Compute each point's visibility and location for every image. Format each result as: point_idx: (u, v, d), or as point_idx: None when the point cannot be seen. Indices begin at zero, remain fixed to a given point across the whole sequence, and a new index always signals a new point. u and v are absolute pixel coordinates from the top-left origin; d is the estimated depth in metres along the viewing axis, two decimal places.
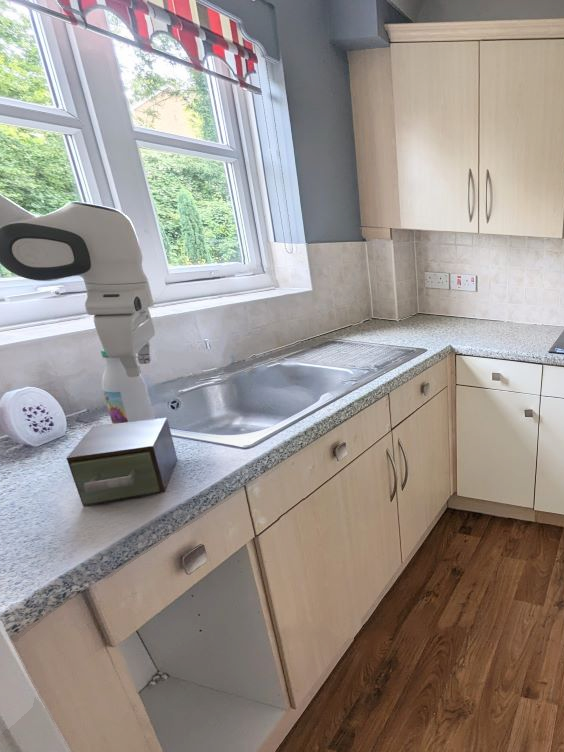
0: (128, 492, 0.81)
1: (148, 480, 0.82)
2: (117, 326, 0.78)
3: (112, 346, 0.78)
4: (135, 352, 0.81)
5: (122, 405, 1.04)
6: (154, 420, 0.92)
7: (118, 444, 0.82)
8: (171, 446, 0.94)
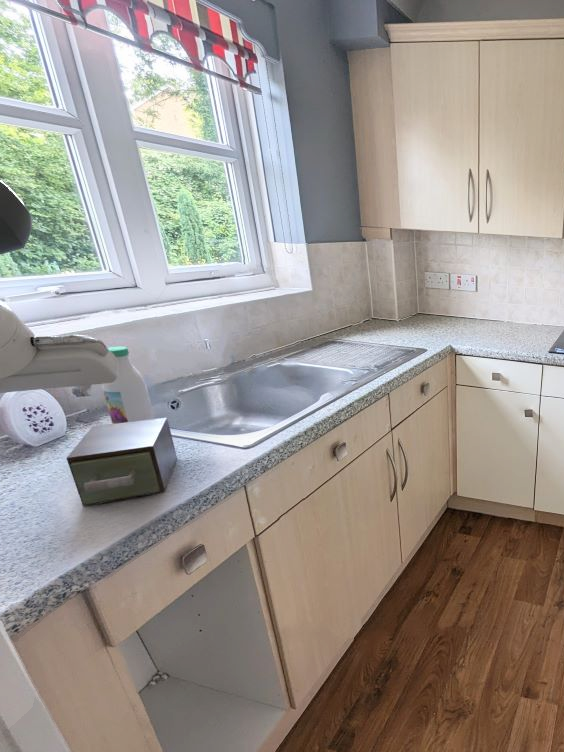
0: (128, 492, 0.81)
1: (148, 480, 0.82)
2: None
3: None
4: None
5: (122, 405, 1.04)
6: (154, 420, 0.92)
7: (118, 444, 0.82)
8: (171, 446, 0.94)
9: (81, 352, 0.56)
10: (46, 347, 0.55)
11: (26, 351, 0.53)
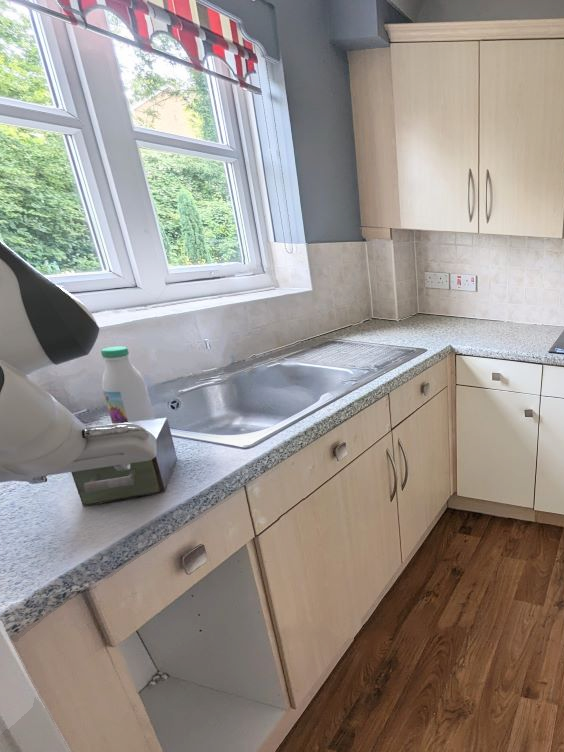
0: (128, 492, 0.81)
1: (148, 480, 0.82)
2: None
3: None
4: None
5: (122, 405, 1.04)
6: (154, 420, 0.92)
7: None
8: (171, 446, 0.94)
9: (125, 440, 0.62)
10: (95, 438, 0.60)
11: (78, 444, 0.58)
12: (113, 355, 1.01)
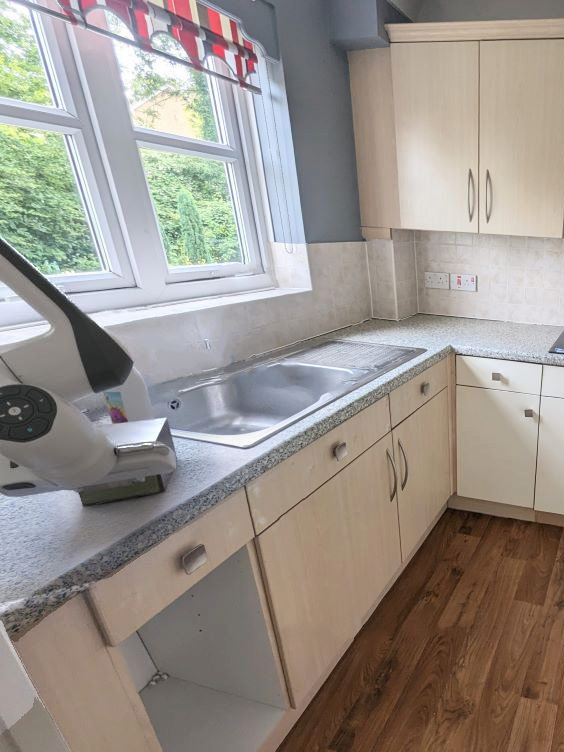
0: (128, 492, 0.81)
1: (148, 480, 0.82)
2: None
3: None
4: (27, 495, 0.69)
5: (122, 405, 1.04)
6: (154, 420, 0.92)
7: (118, 444, 0.82)
8: (171, 446, 0.94)
9: (150, 456, 0.71)
10: (124, 454, 0.70)
11: (111, 460, 0.68)
12: None
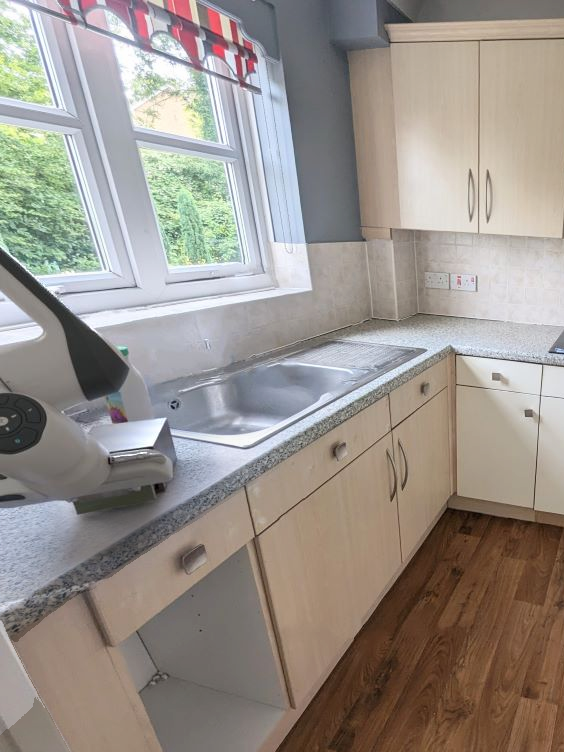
0: (123, 502, 0.78)
1: (144, 489, 0.79)
2: None
3: None
4: (18, 506, 0.66)
5: (122, 405, 1.04)
6: (154, 420, 0.92)
7: (118, 444, 0.82)
8: (171, 446, 0.94)
9: (146, 465, 0.68)
10: (119, 464, 0.67)
11: (105, 471, 0.65)
12: None
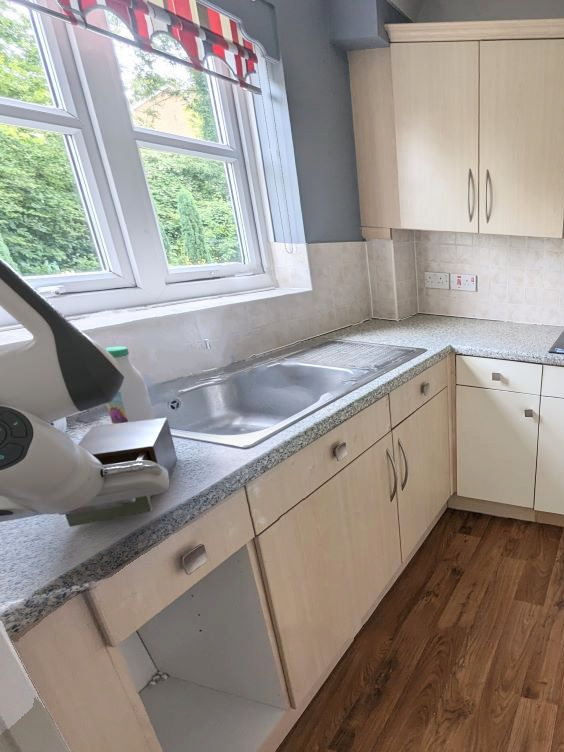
0: (117, 513, 0.75)
1: (139, 499, 0.76)
2: None
3: None
4: (6, 520, 0.63)
5: (122, 405, 1.04)
6: (154, 420, 0.92)
7: (118, 444, 0.82)
8: (171, 446, 0.94)
9: (141, 477, 0.65)
10: (112, 476, 0.64)
11: (97, 483, 0.62)
12: (113, 355, 1.01)
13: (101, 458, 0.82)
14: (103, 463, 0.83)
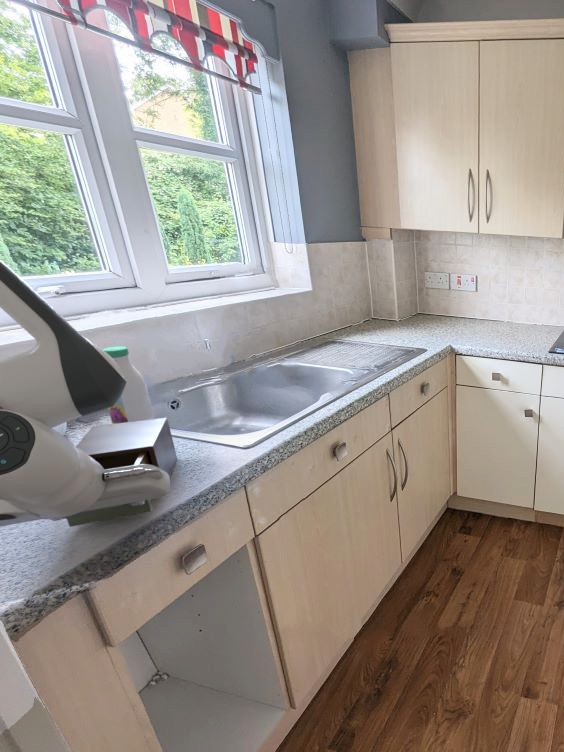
0: (117, 513, 0.75)
1: None
2: None
3: None
4: (8, 524, 0.63)
5: (122, 405, 1.04)
6: (154, 420, 0.92)
7: (118, 444, 0.82)
8: (171, 446, 0.94)
9: (142, 481, 0.66)
10: (114, 480, 0.64)
11: (99, 488, 0.62)
12: (113, 355, 1.01)
13: (101, 458, 0.82)
14: (103, 463, 0.83)
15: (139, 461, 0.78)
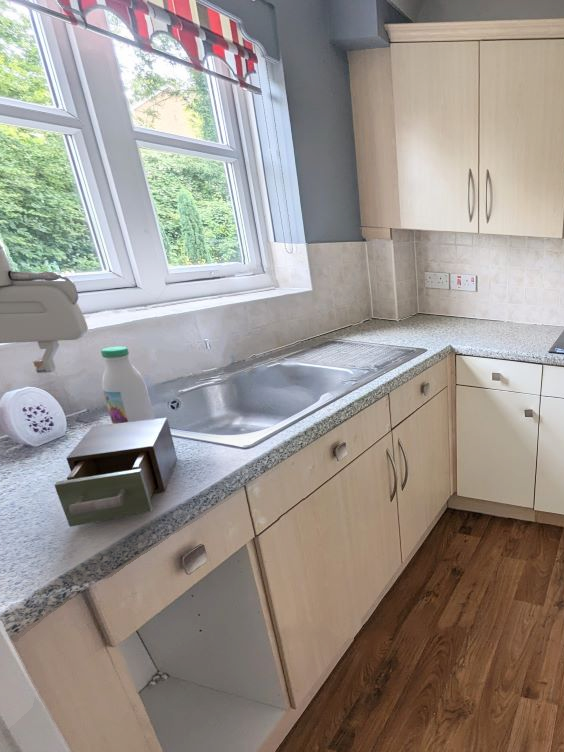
0: (117, 513, 0.75)
1: (139, 499, 0.76)
2: None
3: None
4: None
5: (122, 405, 1.04)
6: (154, 420, 0.92)
7: (118, 444, 0.82)
8: (171, 446, 0.94)
9: (51, 286, 0.61)
10: (20, 282, 0.60)
11: (0, 273, 0.58)
12: (113, 355, 1.01)
13: (101, 458, 0.82)
14: (103, 463, 0.83)
15: (139, 461, 0.78)
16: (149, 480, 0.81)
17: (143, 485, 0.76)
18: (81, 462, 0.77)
